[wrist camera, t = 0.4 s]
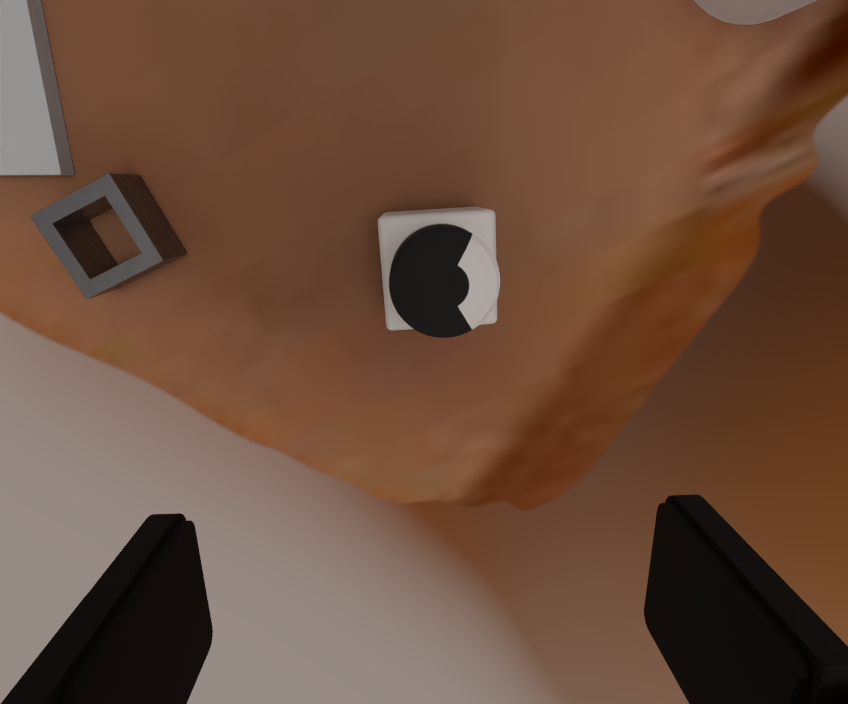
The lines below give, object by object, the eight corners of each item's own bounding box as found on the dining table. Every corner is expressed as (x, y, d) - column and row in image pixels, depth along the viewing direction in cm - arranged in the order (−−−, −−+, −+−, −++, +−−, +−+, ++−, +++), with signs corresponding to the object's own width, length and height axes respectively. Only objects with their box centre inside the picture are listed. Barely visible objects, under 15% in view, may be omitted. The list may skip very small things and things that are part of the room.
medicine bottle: (389, 308, 40) (383, 355, 28) (381, 211, 38) (371, 220, 26) (482, 302, 40) (513, 346, 29) (479, 205, 38) (512, 212, 26)
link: (67, 213, 37) (29, 215, 33) (139, 175, 36) (108, 173, 33) (117, 288, 39) (86, 299, 35) (187, 253, 38) (163, 260, 34)
